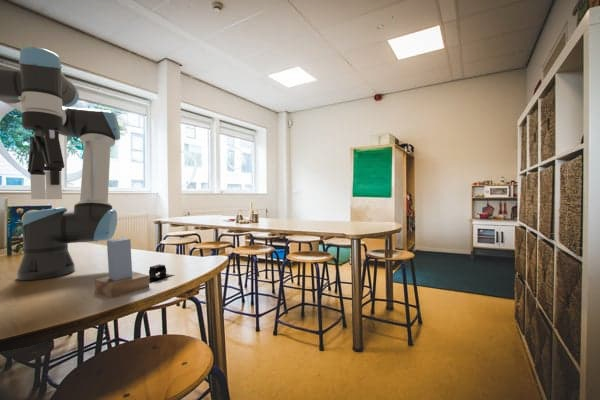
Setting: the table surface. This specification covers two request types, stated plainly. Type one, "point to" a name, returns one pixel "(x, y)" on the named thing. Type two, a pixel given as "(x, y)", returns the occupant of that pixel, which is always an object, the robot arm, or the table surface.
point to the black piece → (162, 275)
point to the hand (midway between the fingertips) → (45, 199)
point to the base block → (121, 285)
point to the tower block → (119, 258)
